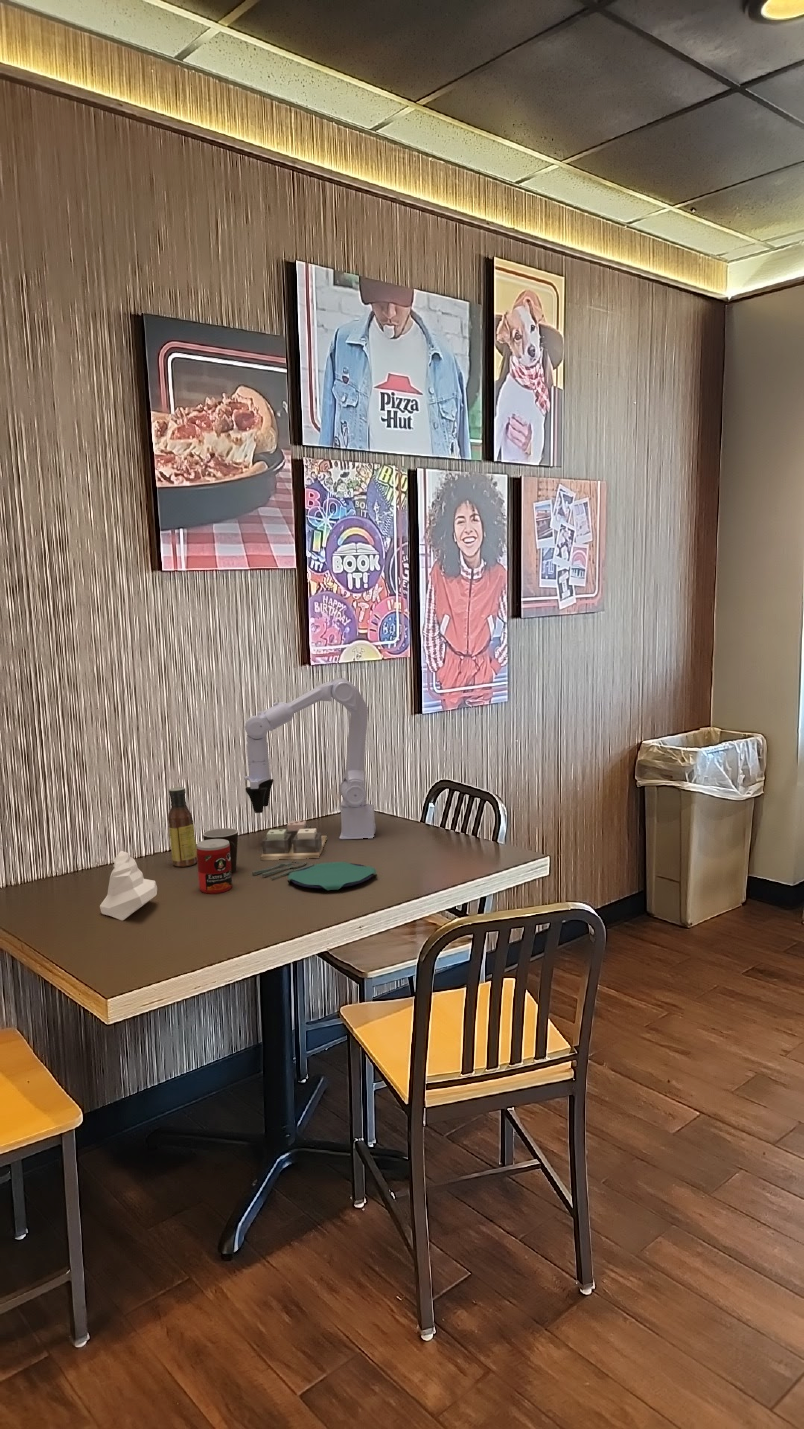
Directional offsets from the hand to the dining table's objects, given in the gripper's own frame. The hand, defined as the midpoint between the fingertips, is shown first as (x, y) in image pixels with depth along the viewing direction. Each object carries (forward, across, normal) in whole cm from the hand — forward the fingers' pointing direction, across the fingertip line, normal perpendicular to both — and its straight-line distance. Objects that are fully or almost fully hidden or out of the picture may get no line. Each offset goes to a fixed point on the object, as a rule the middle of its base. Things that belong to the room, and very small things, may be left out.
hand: (261, 809), depth 261 cm
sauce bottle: (+10, +17, -17) cm, 26 cm away
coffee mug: (+10, +26, -5) cm, 28 cm away
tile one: (+7, +10, +14) cm, 18 cm away
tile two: (+7, +10, +6) cm, 13 cm away
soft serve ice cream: (+10, +52, -20) cm, 57 cm away
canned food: (+10, +38, -4) cm, 40 cm away
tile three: (+7, +1, +10) cm, 12 cm away
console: (+10, +6, +10) cm, 15 cm away
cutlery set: (+10, +31, +19) cm, 38 cm away
